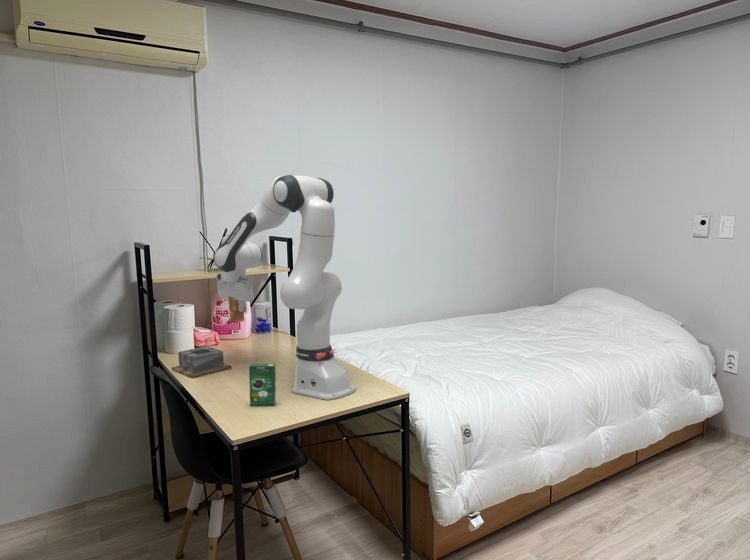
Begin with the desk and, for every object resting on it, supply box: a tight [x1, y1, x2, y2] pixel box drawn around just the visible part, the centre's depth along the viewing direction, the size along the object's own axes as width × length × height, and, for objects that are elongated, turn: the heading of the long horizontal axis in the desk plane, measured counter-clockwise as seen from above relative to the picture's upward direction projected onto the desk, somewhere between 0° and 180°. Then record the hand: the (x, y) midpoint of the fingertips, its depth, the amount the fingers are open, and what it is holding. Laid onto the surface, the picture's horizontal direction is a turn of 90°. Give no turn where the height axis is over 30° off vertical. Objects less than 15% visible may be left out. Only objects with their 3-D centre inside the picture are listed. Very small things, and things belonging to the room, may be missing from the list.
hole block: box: [171, 345, 232, 379], centre depth 200 cm, size 16×16×7 cm
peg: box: [228, 296, 245, 323], centre depth 205 cm, size 4×4×10 cm
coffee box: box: [248, 363, 277, 407], centre depth 162 cm, size 8×3×13 cm, turn 91°
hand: (236, 310), depth 205 cm, fingers closed on peg, 4 cm apart
